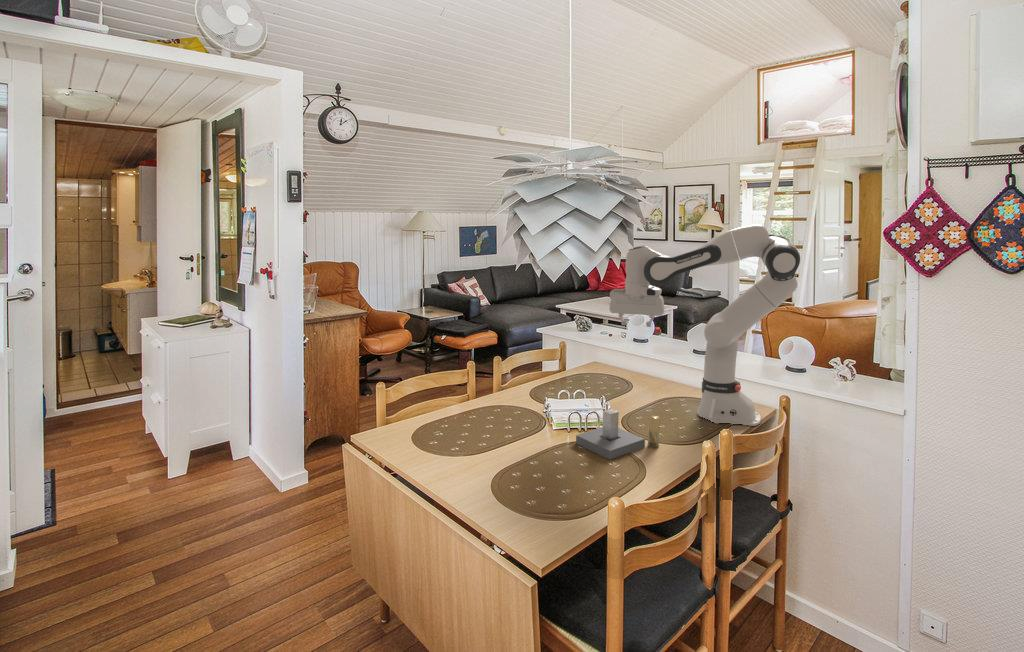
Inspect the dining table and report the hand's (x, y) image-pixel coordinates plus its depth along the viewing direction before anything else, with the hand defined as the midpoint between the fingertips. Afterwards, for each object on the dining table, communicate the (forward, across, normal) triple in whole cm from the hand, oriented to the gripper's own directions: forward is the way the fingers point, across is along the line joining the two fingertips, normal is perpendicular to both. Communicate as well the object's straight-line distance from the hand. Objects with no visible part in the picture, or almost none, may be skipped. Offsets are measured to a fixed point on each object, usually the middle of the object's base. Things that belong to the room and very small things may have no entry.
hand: (636, 325), depth 215 cm
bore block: (+34, 0, -36) cm, 50 cm away
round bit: (+34, +14, -31) cm, 48 cm away
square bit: (+34, 0, -36) cm, 49 cm away
